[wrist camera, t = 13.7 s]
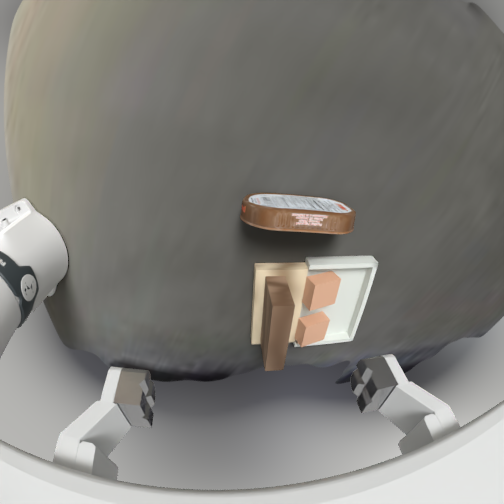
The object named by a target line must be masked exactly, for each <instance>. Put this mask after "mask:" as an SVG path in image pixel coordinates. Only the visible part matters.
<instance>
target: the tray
mask: <svg viewBox="0 0 504 504" xmlns="http://www.w3.org/2000/svg"><path fill="white" fill-rule="evenodd" d="M305 263H306V265H307V268H308V274H307V276H311V275H316V274H320V273H325V272H329V271H333V272H334V273H335V274H336V275H337V276H339V277H340V278H341V282H340V286H339V289H338V293H337V297H336V301H335V304H332V305H329V306H325V307H322V308H318V309H315V310H312V311H309V310H308V308H307V307H306V306H305V305H304V304H303V303H302V308H301V313H300V318H301V317H304V316H307V315H311V314H314V313H318V312H321V311H323V312H324V313H325V314H326V316H327V317H328V318H329V319H330V322H329V325H328V328H327V332H326V335H325V338H324V340H321V341H318V342H315V343H312V344H309V345H306V346H311V345H321V344H330V343H338V342H346V341H352V340H353V338H354V335H355V332H356V330H357V327H358V324H359V322H360V319H361V316H362V313H363V310H364V307H365V304H366V301H367V298H368V295H369V292H370V289H371V286H372V283H373V279H374V276H375V273H376V269H377V266H378V262H377V261H376V260H375V259H374V257H373V256H330V257H306V259H305ZM293 344H294V347H300V345H299V344H298V342H297V341H296V339H295V342H293Z"/></svg>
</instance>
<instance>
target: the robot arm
mask: <svg viewBox="0 0 504 504" xmlns="http://www.w3.org/2000/svg"><path fill="white" fill-rule="evenodd" d="M19 207H20V208H19ZM67 268H68V254H67V250H66V246H65V244H64V241H63V239H62V237H61V235H60V233H59V232H58V230H57V229H56V228H55V226H54V225H53V224H52V223H51V222H50V221H49V220H48V219H47V218H45V217H44V216H42V215H41V214H39V213H38V212H37V211H36V210H35V209H34V207H33V206H32V205H31V203H30V202H29V201H28V200H27V199H25V198H23V199H21V200H19V201H17V202H15V203H13V204H11V205H9V206H7V207H5V208H3V209H1V210H0V358H1V356H2V354H3V352H4V350H5V348H6V346H7V344H8V342H9V340H10V339H11V337H12V335H13V334H14V332H15V330H16V329H17V328H19V327H21V325H22V324H23V323H24V322H25V321H26V320H27V318H28V316H29V314H30V313H32V312H34V311H35V309H36V308H37V307H38V306H39V305H40V304H41V303H42V301H43V300H44V299H45V298H46V297H47V296H52V295H53V294H54V293H55V291H56V287H57V284H58V282H59V281H60V280H62V279H63V277H64V276H65V274H66V272H67ZM356 366H357V368H358V369H356V370H355V371H354V372H353V373H352V376H351V388H352V390H353V393H355V394H356V395H357V396H358V398H357V404H358V406H359V409H360V411H361V413H365V412H369V411H374V410H378V409H379V411H380V412H381V413H382V414H383V415H384V416H385V417H386V418H388V419H389V420H390V421H391V422H392V423H393V424H394V425H396V426H397V427H398V428H399V429H400V430H401V431H402V432H404V433H405V434H406V436H405V437H404V438H403V439H402V440H400V442H399V444H398V445H399V447H400V450H401V452H402V455H400V456H398V457H395V458H393V459H390V460H387V461H384V462H381V463H378V464H375V465H372V466H369V467H366V468H363V469H359V470H356V471H353V472H349V473H345V474H341V475H337V476H332V477H328V478H324V479H319V480H314V481H309V482H303V483H297V484H290V485H284V486H276V487H266V488H254V489H238V490H193V489H175V488H165V487H156V486H148V485H141V484H134V483H128V482H123V481H118V480H117V473H118V467H117V466H116V464H114V463H113V462H112V461H111V460H110V459H109V458H108V455H109V454H110V453H111V452H112V451H113V449H114V448H115V447H116V445H117V444H118V443H119V442H120V441H121V440H122V438H123V437H124V436H125V435H126V433H127V432H128V431H129V430H130V428H131V426H135V427H147V428H152V422H153V412H152V409H151V407H152V406H153V405H154V404H155V386H154V383H153V382H152V381H151V380H150V377H151V375H150V372H149V370H138V369H128V368H120V367H110V369H109V370H108V374H107V377H106V381H105V384H104V388H103V392H102V395H101V399H100V401H96V402H95V403H93V404H92V405H91V406H90V407H89V408H88V409H87V410H86V411H85V412H83V413H82V414H81V415H80V416H79V417H78V418H77V419H76V420H74V421H73V422H72V423H71V424H70V425H69V426H68V427H67V428H66V429H65V430H63V431H62V432H61V433H60V435H59V438H58V442H57V446H56V450H55V455H54V459H53V462H50V461H47V460H45V459H42V458H40V457H37V456H34V455H32V454H30V453H27V452H25V451H23V450H20V449H18V448H16V447H14V446H12V445H10V444H8V443H6V442H4V441H2V440H0V504H504V401H502V402H500V403H499V404H497V405H496V406H495V407H493V408H492V409H490V410H489V411H487V412H485V413H484V414H483V415H481V416H479V417H477V418H476V419H474V420H472V421H471V422H469V423H467V424H466V425H464V426H462V427H460V426H459V424H458V422H457V420H456V418H455V416H454V414H453V412H452V410H451V409H450V406H449V405H447V404H446V403H444V402H443V401H441V400H439V399H438V398H436V397H434V396H433V395H431V394H430V393H428V392H427V391H425V390H424V389H422V388H421V387H419V386H418V385H416V384H414V383H413V382H408V380H407V378H406V376H405V374H404V373H403V371H402V369H401V367H400V365H399V364H398V362H397V360H396V358H395V357H394V355H392V354H388V355H384V356H377V357H372V358H367V359H362V360H360V361H358V363H357V365H356Z"/></svg>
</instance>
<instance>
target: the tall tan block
mask: <svg viewBox="0 0 504 504" xmlns="http://www.w3.org/2000/svg"><path fill="white" fill-rule="evenodd" d="M294 309H295V304H294V301H293V298H292V295H291V292H290V289H289V286H288V283H287V280H286V277H285V276H266V277H265V289H264V302H263V314H262V326H261V337H260V343H261V349H262V355H263V362H264V368H265V371H272V370H283V368H284V363H285V358H286V353H287V348H288V342H289V337H290V332H291V326H292V320H293V315H294Z"/></svg>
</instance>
